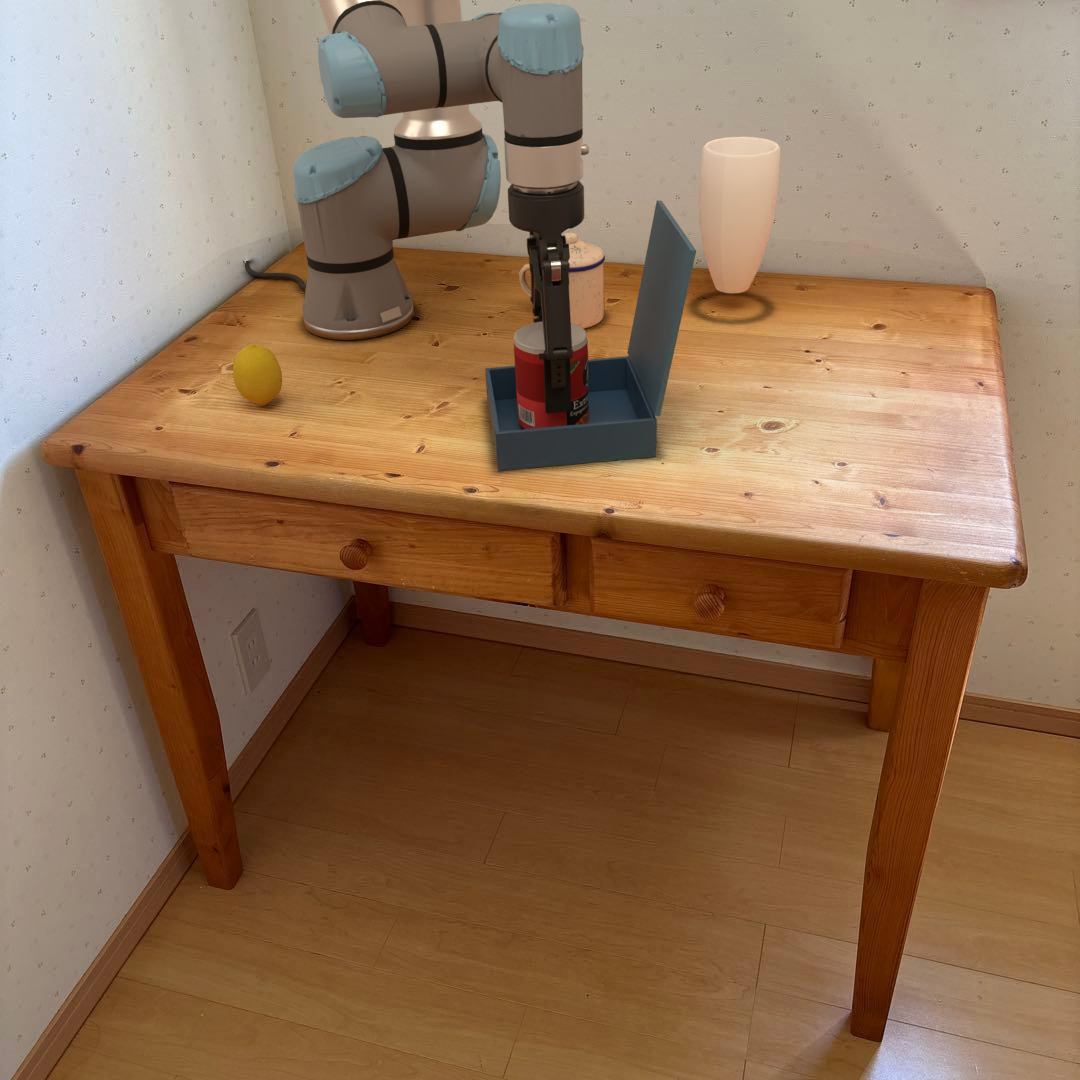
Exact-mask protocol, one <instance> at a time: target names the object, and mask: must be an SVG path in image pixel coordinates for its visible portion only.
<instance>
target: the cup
mask: <svg viewBox="0 0 1080 1080" xmlns="http://www.w3.org/2000/svg"><path fill="white" fill-rule="evenodd" d="M780 163H781V147H780V145H779V144H778V143H777V142H776V141H773V140H770V139H769V138H768V139H767V138H762V137H756V136H728V137H727V136H726V137H722V138H721V137H720V138H716V139H713V140H710V141H707V142H706V143H705V145H703V147H702V149H701V162H700V174H699V185H698V188H699V189H698V190H699V191H698V192H699V194H698V197H699V199H698V203H699V205H698V206H699V207H698V208H699V209H698V211H699V213H698V214H699V215H698V216H699V217H698V218H699V220H698V221H699V228H700V234H701V240H702V247H703V253H704V257H705V261H706V265H707V268H708V272H709V275H710V278H711V280H712V282H713V286H714V288H715V289H716V290H717V291H719V292H721V293H725V294H740V293H744V292H746V291H749V289H750V287H751V285H752V283H753V281H754V279H755V277H756V276H757V273H758V271H759V268H760V266H761V263H762V261H763V259H764V256H765V254H766V250H767V247H768V244H769V240H770V237H771V234H772V230H773V227H774V224H775V223H774V222H775V216H776V209H777V202H778V201H777V200H778V193H779V183H780V165H781V164H780Z"/></svg>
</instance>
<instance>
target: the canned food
mask: <svg viewBox="0 0 1080 1080" xmlns="http://www.w3.org/2000/svg"><path fill="white" fill-rule="evenodd" d="M571 338H572V350H573V357H572V359H570V375H571V411H569V412H558V413H547V414H546V411H545V389H544V365H543V359H541V360H539V358H538V354H540V353H544V351H545V344H544V332H543V321H542V322H536V323H534V322H532V323H529V324H528V323H527V324H525V325H523V326H521V327H519V328H517V330H516V331H514V334H513V356H514V366H515V374H516V390H517V405H518V421H519V424H520V426H521V428H522V429H534V428H545V427H556V426H567V425H579V424H587V423H588V420H589V399H588V359H589V345H588V343H589V341H588V334H587V331H586V330H585V328H584V329H583V328H582V327H580V326H578V325H575V324H572V323H571Z"/></svg>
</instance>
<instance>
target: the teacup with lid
mask: <svg viewBox="0 0 1080 1080" xmlns="http://www.w3.org/2000/svg"><path fill="white" fill-rule="evenodd" d="M564 235H565V238H566V244H569V252H570V259H569V261H568V262H569V263H570V268H569V298H570V318H571V323H572V324H575V325H578V326H580V327H582V328H583V329H584V330H585V329H587V328H591V327H594V326H595V325H597V324H599V323H600V322H601V321H602V320H603V318H604V316H605V315H604V314H605V313H604V311H605V310H604V309H605V308H604V307H605V303H604V302H605V301H604V262H605V260H606V256H605V255H606V254H605V253H604V251H603V250H602V248H601V247H599V246H598V245H595V244H592V243H589V242H585V241H584V240H581V239H579V237H578V234H577V233H575V232H566V233H564V234H562V236H564ZM527 271H530V266H529V262H528V263H526V264H524V265H523V266H522V267H521V268H520V270H519V271H518V281H519V286H520V287H521V290H522V291H523V293H524V294H525V295H526V296H528V297H529V298H530V297H531V286H529V284H528V282H527V278H526V272H527Z"/></svg>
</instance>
